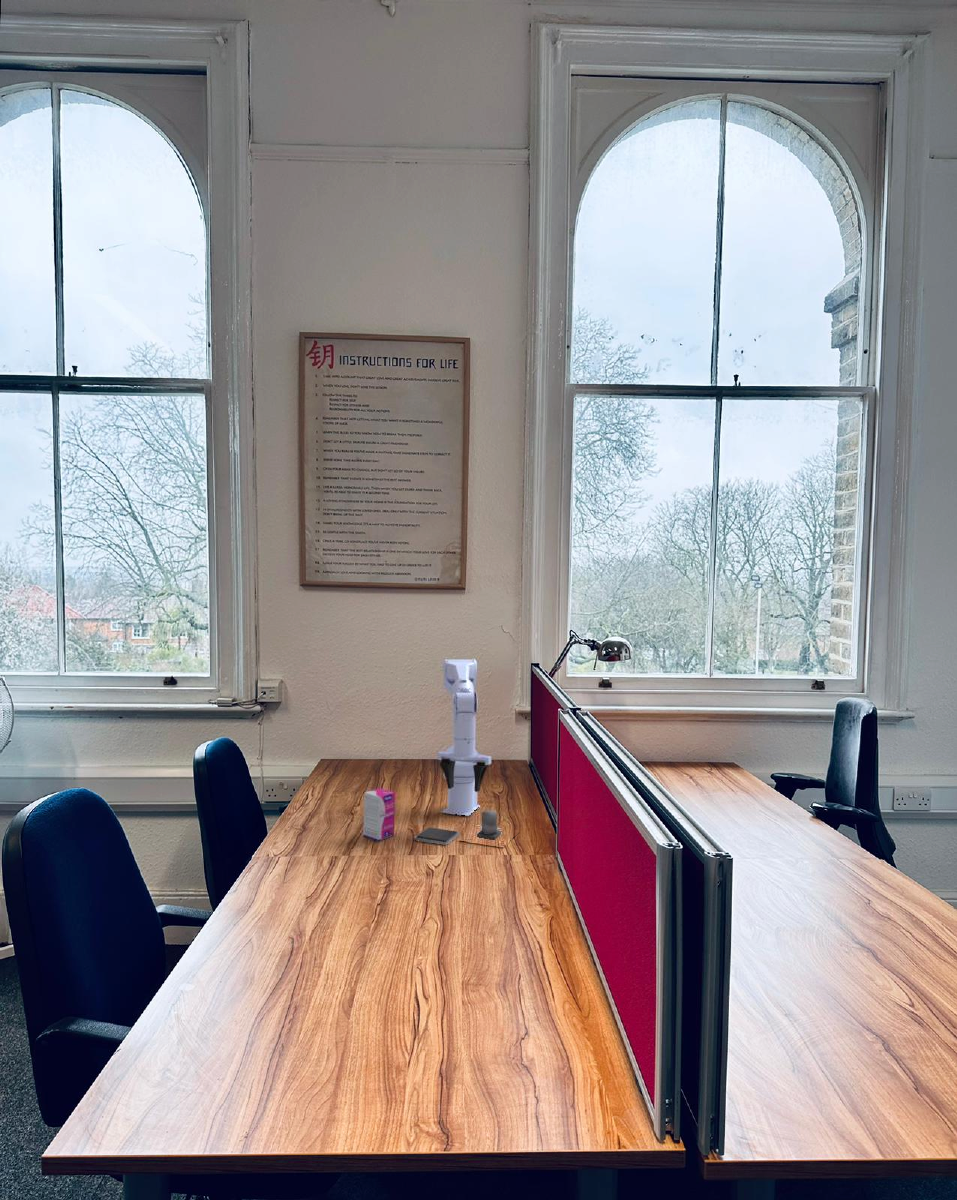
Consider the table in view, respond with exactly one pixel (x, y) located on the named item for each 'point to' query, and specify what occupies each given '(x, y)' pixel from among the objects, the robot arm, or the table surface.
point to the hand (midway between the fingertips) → (463, 789)
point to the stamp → (489, 826)
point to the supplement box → (379, 814)
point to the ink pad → (436, 836)
